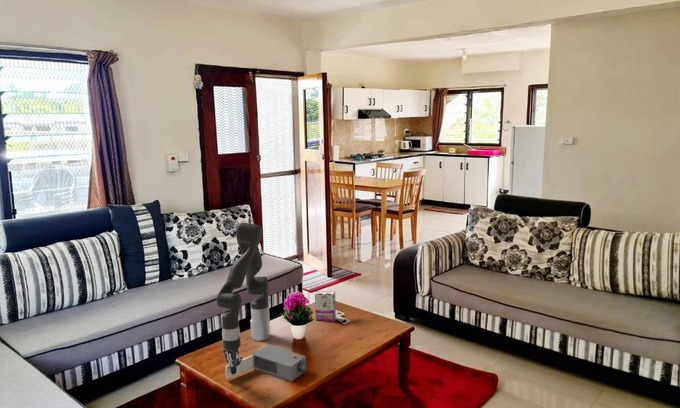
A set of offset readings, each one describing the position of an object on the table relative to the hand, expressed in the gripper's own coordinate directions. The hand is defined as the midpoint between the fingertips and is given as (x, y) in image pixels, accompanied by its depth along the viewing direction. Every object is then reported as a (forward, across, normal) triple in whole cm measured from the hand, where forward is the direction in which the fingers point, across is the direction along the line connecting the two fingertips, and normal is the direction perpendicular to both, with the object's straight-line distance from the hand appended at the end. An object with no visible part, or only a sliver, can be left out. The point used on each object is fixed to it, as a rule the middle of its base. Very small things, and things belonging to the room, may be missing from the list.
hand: (233, 373), depth 212 cm
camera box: (+4, +6, +21) cm, 22 cm away
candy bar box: (+3, -22, +72) cm, 75 cm away
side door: (+3, -3, +5) cm, 7 cm away
